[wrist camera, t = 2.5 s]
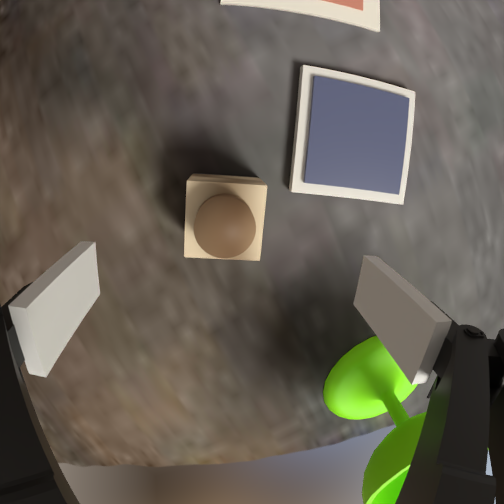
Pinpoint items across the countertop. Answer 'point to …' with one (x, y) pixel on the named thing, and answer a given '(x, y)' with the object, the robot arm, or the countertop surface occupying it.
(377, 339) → the wineglass
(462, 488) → the robot arm
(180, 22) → the countertop surface
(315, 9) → the print card
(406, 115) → the ink pad
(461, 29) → the countertop surface
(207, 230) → the wooden stamp
